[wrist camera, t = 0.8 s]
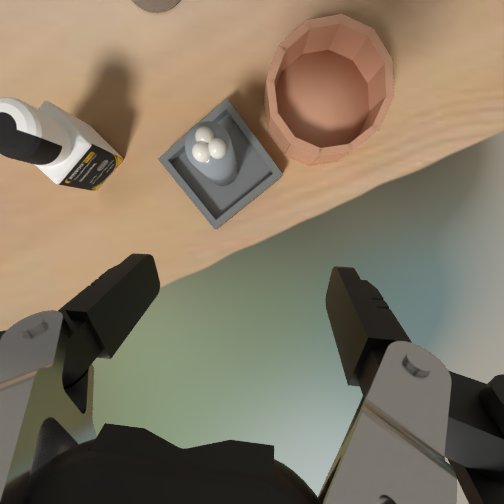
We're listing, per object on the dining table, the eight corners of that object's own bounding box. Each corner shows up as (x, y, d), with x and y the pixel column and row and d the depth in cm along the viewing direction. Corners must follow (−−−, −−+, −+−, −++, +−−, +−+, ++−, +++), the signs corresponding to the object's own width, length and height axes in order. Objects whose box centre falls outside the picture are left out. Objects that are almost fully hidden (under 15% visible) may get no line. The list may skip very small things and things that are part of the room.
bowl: (244, 99, 32) (242, 76, 27) (331, 23, 30) (346, -16, 25) (306, 185, 34) (315, 179, 29) (392, 118, 32) (417, 99, 27)
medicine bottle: (96, 192, 34) (12, 177, 22) (61, 158, 33) (-46, 125, 21) (125, 159, 33) (54, 125, 21) (89, 124, 32) (-5, 69, 21)
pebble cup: (199, 166, 32) (170, 137, 21) (224, 144, 32) (208, 104, 21) (219, 192, 33) (202, 178, 22) (245, 171, 32) (240, 146, 21)
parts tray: (165, 163, 33) (157, 158, 31) (229, 107, 32) (227, 98, 29) (217, 228, 35) (214, 229, 32) (280, 177, 33) (283, 174, 31)
